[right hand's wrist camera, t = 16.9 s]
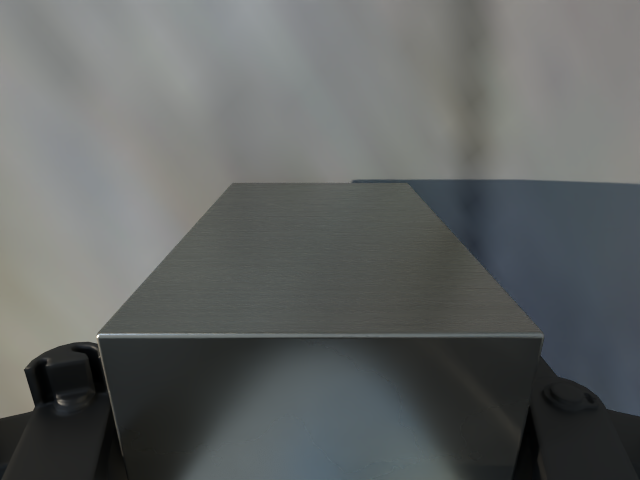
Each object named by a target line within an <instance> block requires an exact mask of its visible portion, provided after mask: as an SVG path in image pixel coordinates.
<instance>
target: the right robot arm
mask: <svg viewBox="0 0 640 480" xmlns="http://www.w3.org/2000/svg"><path fill="white" fill-rule="evenodd" d="M24 371H25V374H26V378H27V381H28V384H29V388H30V391H31V394H32V398H33V401H34V404H35V408H34V410H33V411H31V412H28V413H24V414H19V415H14V416H10V417H5V418H1V419H0V480H128V479H127V475H126V470H125V466H124V461H123V457H122V452H121V447H120V443H119V438H118V434H117V429H116V425H115V420H114V415H113V411H112V406H111V402H110V397H109V393H108V388H107V383H106V379H105V374H104V370H103V365H102V361H101V356H100V351H99V347H98V344H96V343H91V342H76V343H71V344H67V345H62V346H59V347H56V348H54V349H51V350H49V351H47V352H44V353H43V354H41V355H40V356H38V357H37V358H35V359H34V360H32V361H31V362H30V363H29V365H28V366H27V367H26V368H25V369H24ZM513 480H640V417H639V416H634V415H630V414H625V413H620V412H616V411H612V410H608V409H606V407H605V405H604V404H603V403H602V401H601V400H600V399H599V397H598V396H597V395H595V394H594V393H593V392H591V391H590V390H589V389H587V388H586V387H584V386H582V385H580V384H578V383H576V382H574V381H571V380H567V379H564V378H560V377H557V375H556V374H555V373H554V372H553V371H552V369H551V368H550V367H549V366H548V364H547V363H546V362H545V361H544V359H543V358H542V357H541V356H540V359H539V364H538V368H537V373H536V378H535V382H534V387H533V391H532V396H531V400H530V405H529V409H528V414H527V419H526V423H525V428H524V432H523V437H522V441H521V446H520V450H519V455H518V460H517V464H516V469H515V473H514V478H513Z"/></svg>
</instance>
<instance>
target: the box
mask: <svg viewBox="0 0 640 480" xmlns="http://www.w3.org/2000/svg"><path fill="white" fill-rule="evenodd" d="M543 341H544V334H543V332H542V331H541V330H540V329H539V328H538V327H537V325H536V324H535V323H534V322H533V321H532V320H531V319H530V318H529V317H528V316H527V314H526V313H525V312H524V311H523V310H522V309H521V308H520V307H519V306H518V304H517V303H516V302H515V301H514V300H513V299H512V298H511V297H510V296H509V295H508V293H507V292H506V291H505V290H504V289H503V288H502V287H501V286H500V285H499V284H498V282H497V281H496V280H495V279H494V278H493V277H492V276H491V275H490V274H489V272H488V271H487V270H486V269H485V268H484V267H483V266H482V265H481V264H480V263H479V261H478V260H477V259H476V258H475V257H474V256H473V255H472V254H471V253H470V252H469V250H468V249H467V248H466V247H465V246H464V245H463V244H462V243H461V242H460V240H459V239H458V238H457V237H456V236H455V235H454V234H453V233H452V232H451V231H450V229H449V228H448V227H447V226H446V225H445V224H444V223H443V222H442V221H441V220H440V218H439V217H438V216H437V215H436V214H435V213H434V212H433V211H432V210H431V208H430V207H429V206H428V205H427V204H426V203H425V202H424V201H423V200H422V199H421V197H420V196H419V195H418V194H417V193H416V192H415V191H414V190H413V189H412V188H411V186H410V185H409V184H408V183H232V184H231V185H230V186H229V187H228V189H227V190H226V191H225V192H224V193H223V194H222V195H221V196H220V197H219V199H218V200H217V201H216V202H215V203H214V204H213V205H212V206H211V207H210V209H209V210H208V211H207V212H206V213H205V214H204V215H203V216H202V218H201V219H200V220H199V221H198V222H197V223H196V224H195V225H194V226H193V228H192V229H191V230H190V231H189V232H188V233H187V234H186V235H185V236H184V238H183V239H182V240H181V241H180V242H179V243H178V244H177V245H176V246H175V248H174V249H173V250H172V251H171V252H170V253H169V254H168V255H167V256H166V258H165V259H164V260H163V261H162V262H161V263H160V264H159V265H158V266H157V268H156V269H155V270H154V271H153V272H152V273H151V274H150V275H149V276H148V278H147V279H146V280H145V281H144V282H143V283H142V284H141V285H140V286H139V288H138V289H137V290H136V291H135V292H134V293H133V294H132V295H131V296H130V298H129V299H128V300H127V301H126V302H125V303H124V304H123V305H122V306H121V308H120V309H119V310H118V311H117V312H116V313H115V314H114V315H113V317H112V318H111V319H110V320H109V321H108V322H107V323H106V324H105V325H104V327H103V328H102V329H101V330H100V331H99V332H98V334H97V342H98V347H99V351H100V356H101V361H102V365H103V370H104V374H105V379H106V383H107V388H108V393H109V397H110V402H111V406H112V411H113V415H114V420H115V425H116V429H117V434H118V438H119V443H120V447H121V452H122V457H123V461H124V466H125V470H126V475H127V479H128V480H513V478H514V473H515V469H516V464H517V460H518V455H519V450H520V446H521V441H522V437H523V432H524V428H525V423H526V419H527V414H528V409H529V405H530V400H531V396H532V391H533V387H534V382H535V378H536V373H537V368H538V364H539V359H540V355H541V350H542V346H543Z"/></svg>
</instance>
